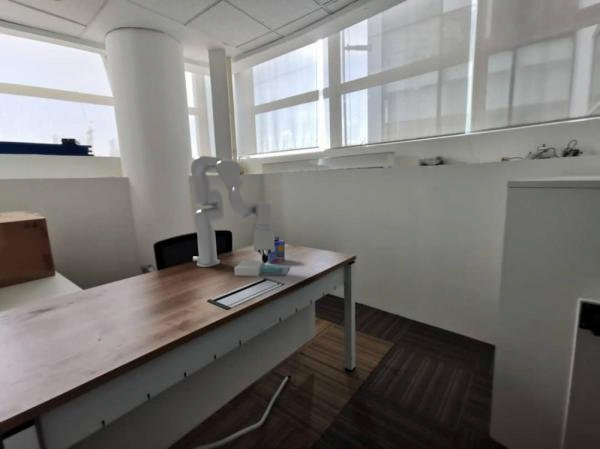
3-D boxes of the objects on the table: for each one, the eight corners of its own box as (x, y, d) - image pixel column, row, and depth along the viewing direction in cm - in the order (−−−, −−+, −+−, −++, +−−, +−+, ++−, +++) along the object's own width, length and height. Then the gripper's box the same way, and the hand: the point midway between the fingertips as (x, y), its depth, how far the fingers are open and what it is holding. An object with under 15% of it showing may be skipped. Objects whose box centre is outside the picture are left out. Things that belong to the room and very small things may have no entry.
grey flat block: (234, 275, 137) (234, 267, 137) (243, 266, 151) (242, 259, 150) (258, 275, 136) (258, 267, 135) (264, 267, 150) (264, 259, 149)
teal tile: (260, 272, 140) (260, 268, 140) (263, 268, 146) (263, 264, 146) (278, 272, 139) (277, 268, 139) (280, 268, 145) (280, 265, 145)
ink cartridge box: (269, 263, 156) (268, 238, 154) (266, 261, 161) (265, 236, 158) (285, 261, 160) (284, 236, 158) (282, 259, 165) (281, 235, 163)
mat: (259, 275, 136) (259, 274, 136) (265, 267, 150) (265, 266, 150) (285, 276, 135) (285, 275, 135) (289, 267, 148) (289, 266, 148)
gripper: (247, 228, 136) (249, 264, 139) (277, 228, 135) (278, 264, 138) (251, 226, 144) (252, 260, 146) (279, 225, 142) (280, 260, 145)
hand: (265, 262), depth 142 cm, fingers closed
